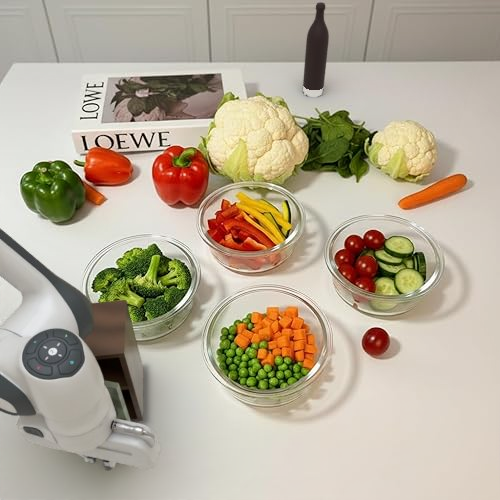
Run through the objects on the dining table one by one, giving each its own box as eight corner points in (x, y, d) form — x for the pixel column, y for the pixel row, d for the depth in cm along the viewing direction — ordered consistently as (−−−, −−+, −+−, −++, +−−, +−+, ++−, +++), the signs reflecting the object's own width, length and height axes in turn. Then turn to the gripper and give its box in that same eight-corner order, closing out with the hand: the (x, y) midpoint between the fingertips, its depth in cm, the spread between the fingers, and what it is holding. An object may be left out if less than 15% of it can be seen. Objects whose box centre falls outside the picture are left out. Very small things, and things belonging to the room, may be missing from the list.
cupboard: (143, 420, 101) (124, 353, 85) (61, 430, 100) (26, 363, 84) (143, 370, 109) (126, 299, 93) (67, 378, 107) (36, 308, 92)
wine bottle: (325, 90, 188) (335, 1, 167) (319, 100, 183) (328, 9, 162) (306, 86, 190) (313, -2, 169) (299, 96, 185) (306, 6, 164)
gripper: (160, 411, 76) (171, 454, 86) (27, 384, 79) (52, 429, 89) (145, 453, 72) (158, 494, 82) (5, 423, 75) (33, 466, 85)
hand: (102, 460), depth 85 cm, fingers closed, pressing on cupboard door
